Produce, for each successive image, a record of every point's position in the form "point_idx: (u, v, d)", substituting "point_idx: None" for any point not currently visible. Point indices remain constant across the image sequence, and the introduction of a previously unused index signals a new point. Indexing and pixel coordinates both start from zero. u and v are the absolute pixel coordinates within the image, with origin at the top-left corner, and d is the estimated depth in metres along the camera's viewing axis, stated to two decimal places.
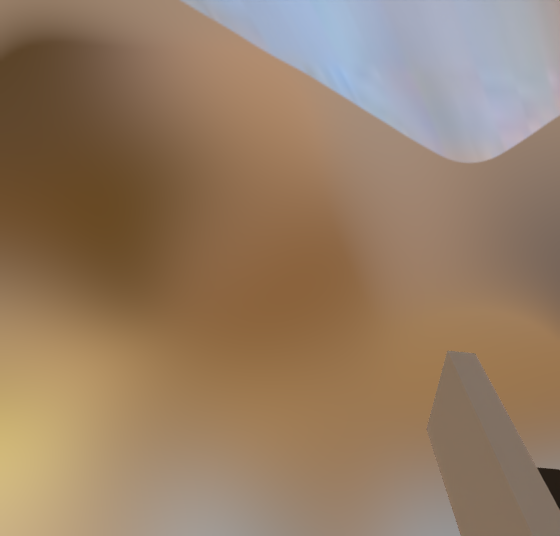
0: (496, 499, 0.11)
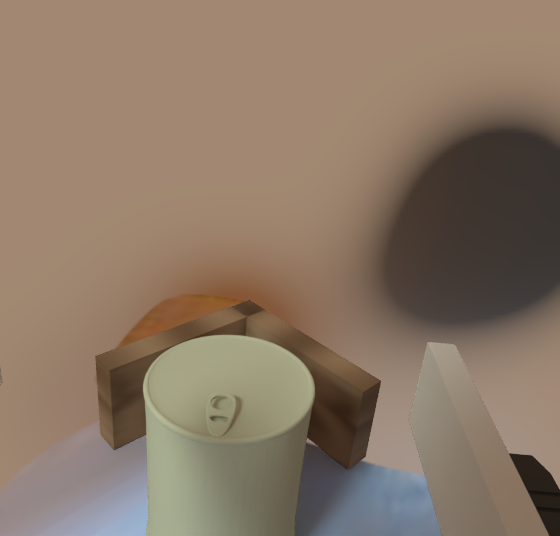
0: (469, 483, 0.11)
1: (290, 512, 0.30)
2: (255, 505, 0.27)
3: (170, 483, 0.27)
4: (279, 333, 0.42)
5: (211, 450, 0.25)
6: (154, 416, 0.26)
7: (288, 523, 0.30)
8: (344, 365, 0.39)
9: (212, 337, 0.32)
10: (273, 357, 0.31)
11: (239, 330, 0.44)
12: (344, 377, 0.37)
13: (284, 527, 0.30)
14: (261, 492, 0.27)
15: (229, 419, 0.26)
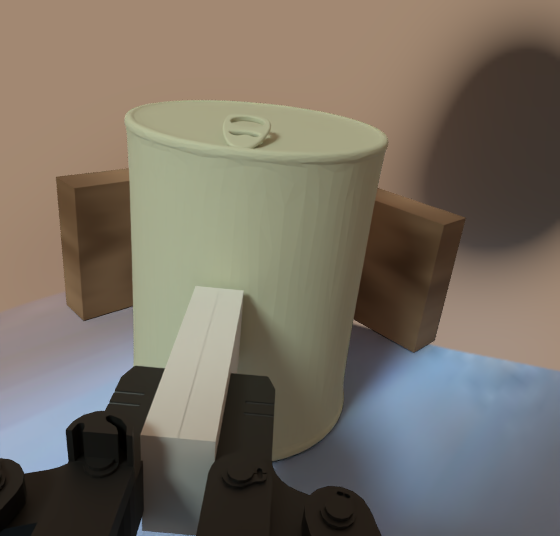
0: None
1: (344, 335, 0.20)
2: (298, 294, 0.17)
3: (164, 257, 0.17)
4: None
5: (231, 172, 0.15)
6: (140, 136, 0.16)
7: (340, 354, 0.20)
8: (410, 203, 0.27)
9: (229, 102, 0.22)
10: (319, 118, 0.21)
11: None
12: (413, 212, 0.26)
13: (335, 356, 0.20)
14: (308, 270, 0.17)
15: (260, 135, 0.16)
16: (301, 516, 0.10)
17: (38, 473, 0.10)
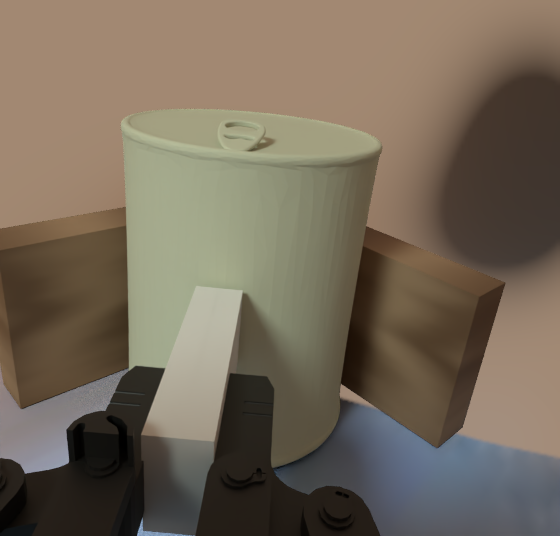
0: None
1: (340, 341, 0.20)
2: (293, 297, 0.17)
3: (159, 261, 0.17)
4: None
5: (226, 174, 0.15)
6: (135, 140, 0.16)
7: (336, 360, 0.20)
8: (433, 260, 0.21)
9: (225, 110, 0.23)
10: (313, 126, 0.21)
11: None
12: (437, 275, 0.20)
13: (331, 361, 0.20)
14: (303, 274, 0.17)
15: (255, 139, 0.16)
16: (300, 516, 0.10)
17: (39, 473, 0.10)
